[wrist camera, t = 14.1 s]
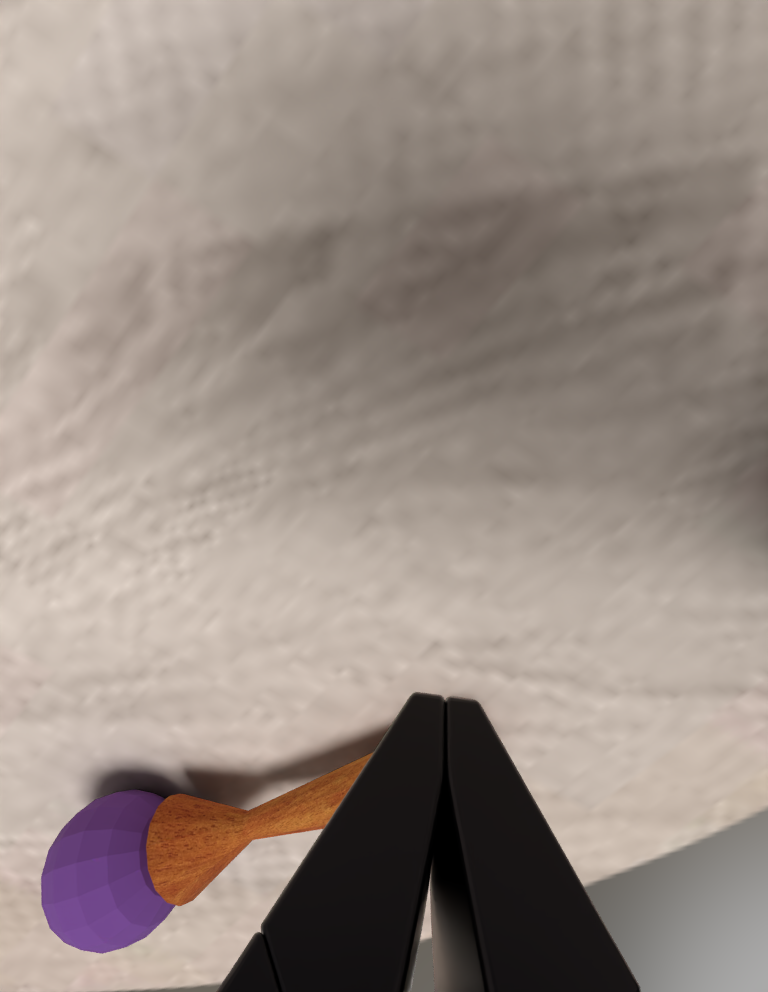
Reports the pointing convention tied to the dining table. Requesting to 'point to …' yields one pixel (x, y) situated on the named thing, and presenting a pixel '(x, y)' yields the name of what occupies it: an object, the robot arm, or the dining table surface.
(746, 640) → the dining table surface
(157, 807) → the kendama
